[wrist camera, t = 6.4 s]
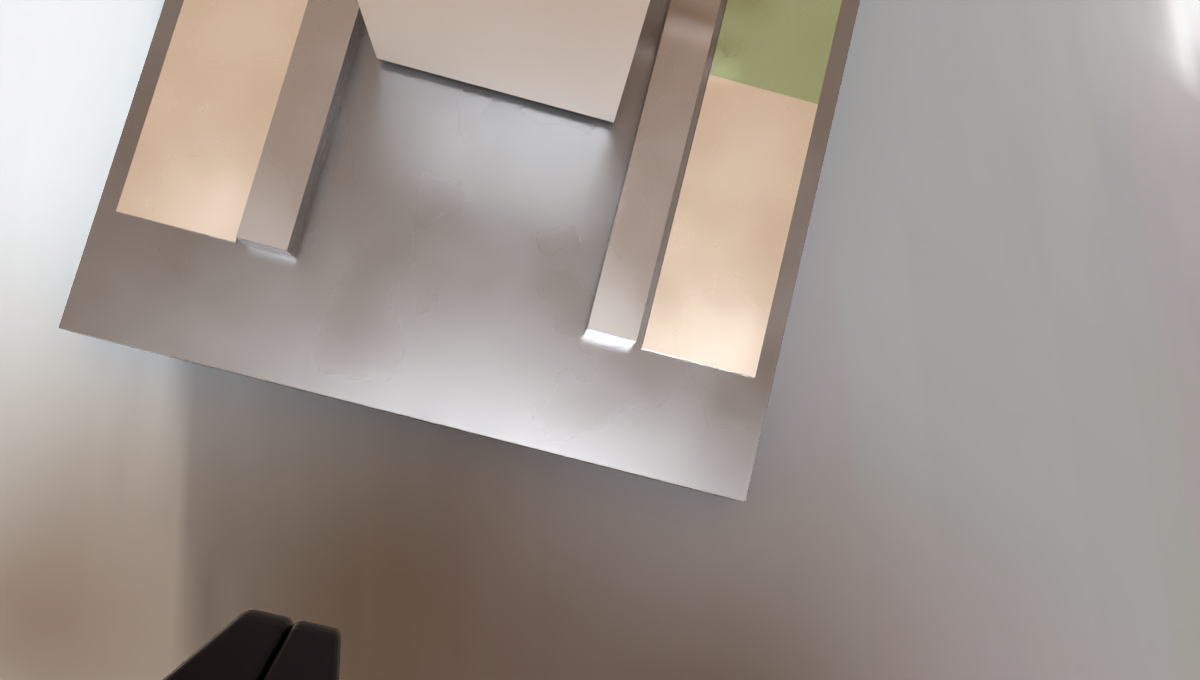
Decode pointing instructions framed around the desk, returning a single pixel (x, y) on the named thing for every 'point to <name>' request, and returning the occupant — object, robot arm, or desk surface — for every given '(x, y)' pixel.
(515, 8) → the cream box
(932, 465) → the desk surface
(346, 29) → the gauge base
